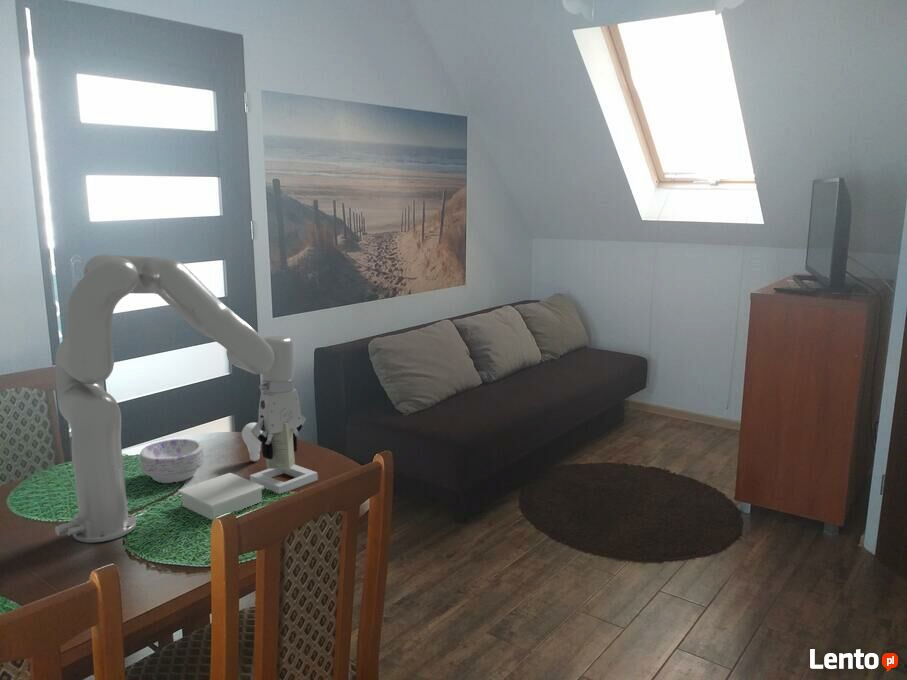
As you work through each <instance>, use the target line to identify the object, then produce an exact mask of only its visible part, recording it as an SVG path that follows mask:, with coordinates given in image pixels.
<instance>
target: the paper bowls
mask: <svg viewBox="0 0 907 680" xmlns="http://www.w3.org/2000/svg"><path fill="white" fill-rule="evenodd" d="M204 456H205V455H204V446H203V444H202V443H201V442H200V441H198V440H196V439H189V438H176V439H175V438H174V439H168V440H161V441H157V442H155V443H152V444H149V445H146V446H145V447H144V448H143V449H141V451H140V452H139V458H140V469H141V472H142V473H143V475H145V476H149V477H150V478H152V480H154V482H156V481H157V482H156V483H160V482H161V483H160V484H174V483H173V482H176V483H180V482H183V481H187V480H188V479H191V478H192V477H193V476H194V475H195V473H196V471H197V470H198V469H200V468H201V467H202V466H203V465H204V463H205V457H204ZM179 481H180V482H179Z"/></svg>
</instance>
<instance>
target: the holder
mask: <svg viewBox="0 0 907 680" xmlns="http://www.w3.org/2000/svg"><path fill="white" fill-rule="evenodd" d="M283 474H284V475H288V476H291V477H293V478H292V479H289V480H287V481H281V480H279V479H277V478H275V477H277V476H280V475H281V476H282V475H283ZM249 480H250V481H252V482H255V483H257V484H260V485H262V486H264V487H265V488H268V489H270V490H272V491H274V492H273V493H275V492H276V493H275V494H277V493H278V494H277V495H282V494H284V492H285V493H287V492H289V491H292V490H296V489H298V488H300V487H303V486H306V485H308V484H311V483H314V482H316V481H318V480H319V475H318V472H317V471H314V470H311V469H309V468H306V467H303V466H300V465H297V464H296V463H295V464H294V465H293V466H292V467H291V468H290V469H267V468H266V469H264V470H261V471H258V472H256V473H252V474H249ZM265 488H264V489H265ZM270 490H269V491H270ZM272 491H271V492H272ZM281 493H282V494H281Z"/></svg>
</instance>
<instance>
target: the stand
mask: <svg viewBox="0 0 907 680" xmlns="http://www.w3.org/2000/svg"><path fill="white" fill-rule="evenodd" d="M177 490H178V491H177V492H178V493H179V494H180V495H181V502H182V503H181V504H182V507H184V508H187V509H189V510H190V511H193V512H194V513H196V514H199V515H201V516H202V517H205V518H207V519H209V520H211V521H213V520H212V519H213V518H214V517H216V516H218V515H221V514H223V513H227V512H233V511H238V510H241V511H243V510H242V509H244V508H246V509H248V508H247V507H249V506H251V507H253V506H252V505H254V504H257V503H259V502H262V503H263V497H262V496H263V493H262V491H263V490H265V488H264V486H262V485H260V484H257V483H255V482H252V481H250V479H247V478H245V477H242V476H239V475H237V474H234V473H233V472H228V473H225V474H224V473H223V474H222V475H219V476H216V477H213V478H210V479H206V480H204V481H202V482H201V481H200V482H197V483H195V484H191V485H189V486H186V487H183V488H180V489H177ZM259 504H260V503H259ZM257 505H258V504H257ZM254 506H255V505H254ZM249 508H250V507H249ZM244 510H245V509H244ZM238 512H239V511H238ZM233 514H235V513H234V512H233Z"/></svg>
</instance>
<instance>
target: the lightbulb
mask: <svg viewBox="0 0 907 680" xmlns="http://www.w3.org/2000/svg"><path fill="white" fill-rule="evenodd" d="M256 424H257V422H249V423H247V424H245V425H244V427H243V428H242V431H241V439H242V440H243V441H244V443H245V445H246V446H247V451H248V454H249V460H250V461H252V462H258V460H260V452H261V447H262V442H260V441H259V440H258V439H257V438H256V436H254V435H253V434H252V433H251V430H252V429H253V428H254V426H255V425H256ZM262 432H263V431H261V430H260V433H261V434H262Z"/></svg>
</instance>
